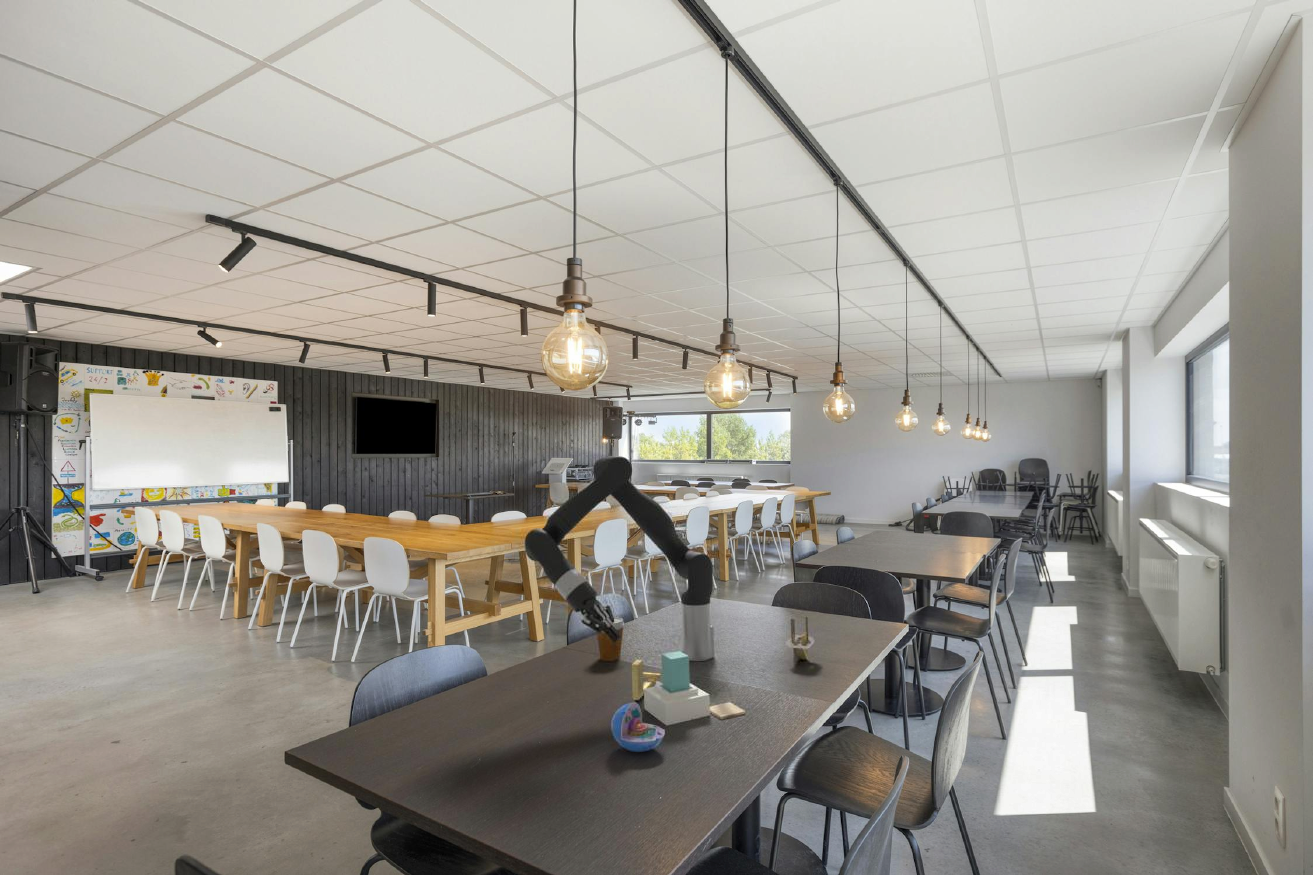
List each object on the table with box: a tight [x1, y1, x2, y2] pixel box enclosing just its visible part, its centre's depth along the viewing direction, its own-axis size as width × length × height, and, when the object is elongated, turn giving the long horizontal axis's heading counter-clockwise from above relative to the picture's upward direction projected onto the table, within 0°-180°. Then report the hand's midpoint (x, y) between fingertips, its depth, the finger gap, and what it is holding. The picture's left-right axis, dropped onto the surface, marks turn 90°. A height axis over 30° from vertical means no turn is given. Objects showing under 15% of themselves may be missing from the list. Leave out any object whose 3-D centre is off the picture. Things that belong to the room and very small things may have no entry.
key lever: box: [631, 659, 662, 701], centre depth 174 cm, size 14×5×9 cm, turn 161°
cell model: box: [610, 701, 666, 753], centre depth 140 cm, size 10×12×10 cm
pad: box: [710, 701, 746, 720], centre depth 160 cm, size 7×7×1 cm
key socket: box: [643, 680, 662, 687], centre depth 179 cm, size 6×6×1 cm
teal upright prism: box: [661, 650, 691, 693], centre depth 161 cm, size 5×5×9 cm
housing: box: [643, 683, 711, 726], centre depth 160 cm, size 12×12×6 cm
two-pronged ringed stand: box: [785, 616, 815, 667], centre depth 197 cm, size 21×25×14 cm
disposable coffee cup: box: [596, 616, 625, 662], centre depth 206 cm, size 10×10×12 cm
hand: (618, 639), depth 167 cm, fingers closed
